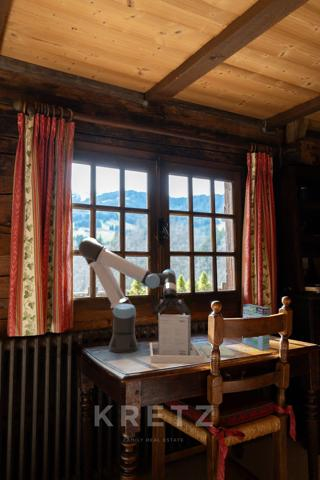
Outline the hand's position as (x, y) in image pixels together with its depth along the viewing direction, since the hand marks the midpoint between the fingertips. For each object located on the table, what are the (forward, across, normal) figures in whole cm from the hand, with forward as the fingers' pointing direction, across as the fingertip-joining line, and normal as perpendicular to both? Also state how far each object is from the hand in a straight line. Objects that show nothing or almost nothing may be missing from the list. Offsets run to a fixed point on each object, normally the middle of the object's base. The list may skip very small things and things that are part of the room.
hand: (172, 325), depth 186 cm
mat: (+7, -24, -13) cm, 28 cm away
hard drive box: (+13, -1, -8) cm, 15 cm away
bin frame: (+12, -1, -9) cm, 15 cm away
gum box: (-2, -49, -22) cm, 54 cm away
